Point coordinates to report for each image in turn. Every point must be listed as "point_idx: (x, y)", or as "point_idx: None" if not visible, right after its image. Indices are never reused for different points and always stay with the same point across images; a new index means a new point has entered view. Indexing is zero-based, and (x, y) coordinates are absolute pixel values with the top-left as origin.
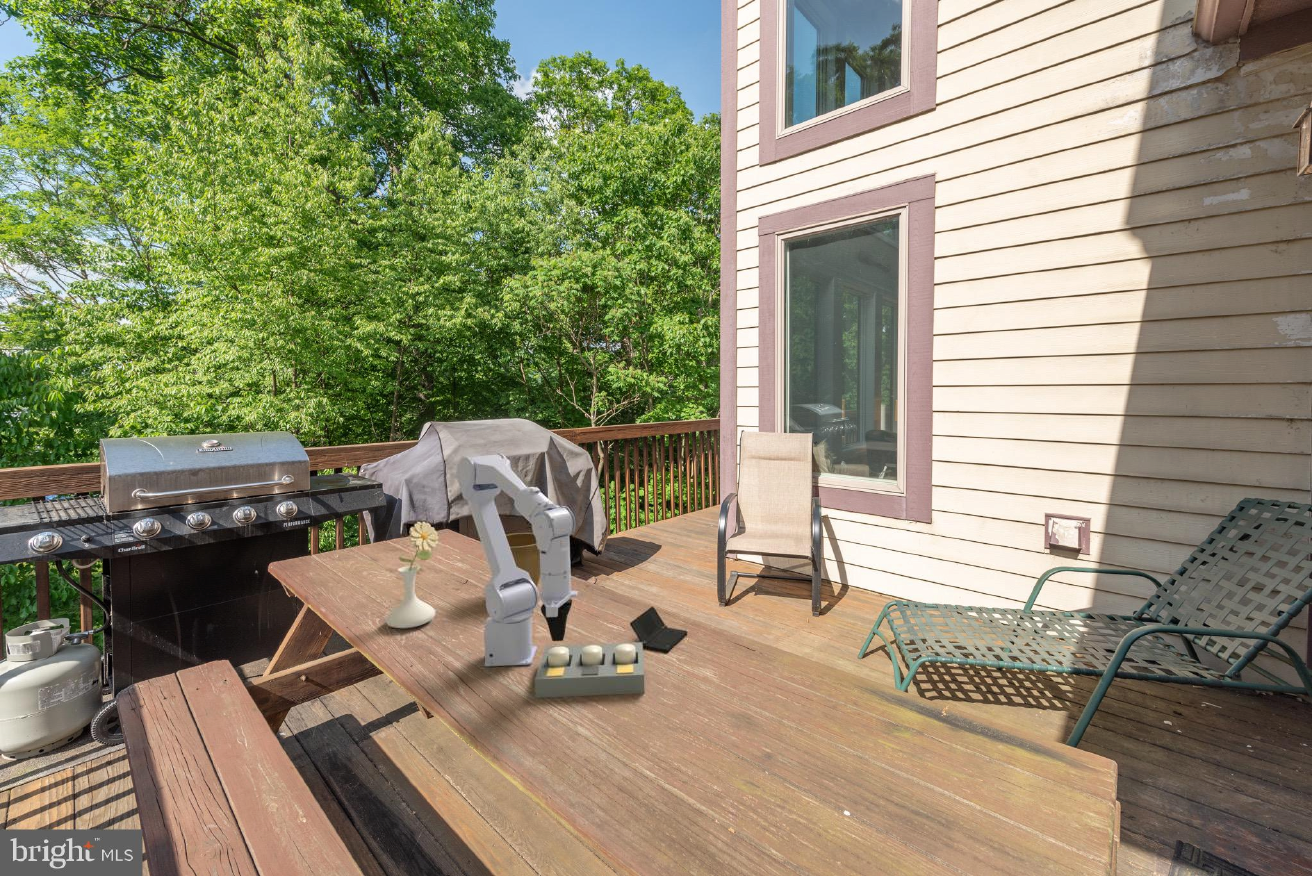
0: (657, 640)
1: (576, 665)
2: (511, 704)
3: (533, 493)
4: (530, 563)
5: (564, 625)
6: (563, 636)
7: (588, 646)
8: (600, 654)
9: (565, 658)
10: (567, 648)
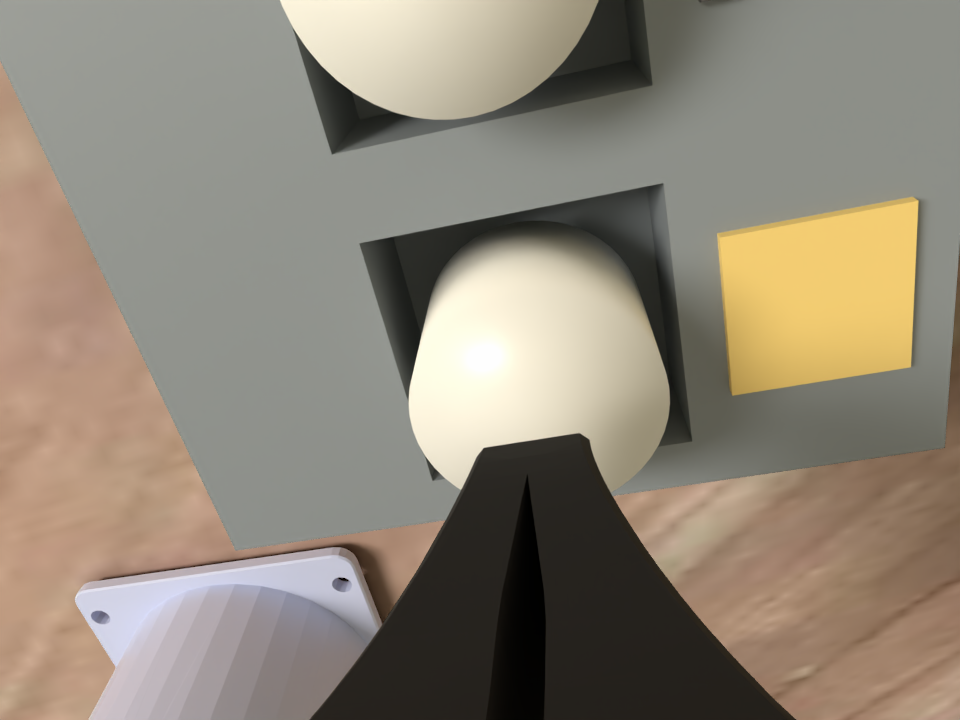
0: None
1: (636, 111)
2: (943, 482)
3: None
4: None
5: (678, 599)
6: (591, 464)
7: (329, 40)
8: None
9: (605, 280)
10: (448, 325)
